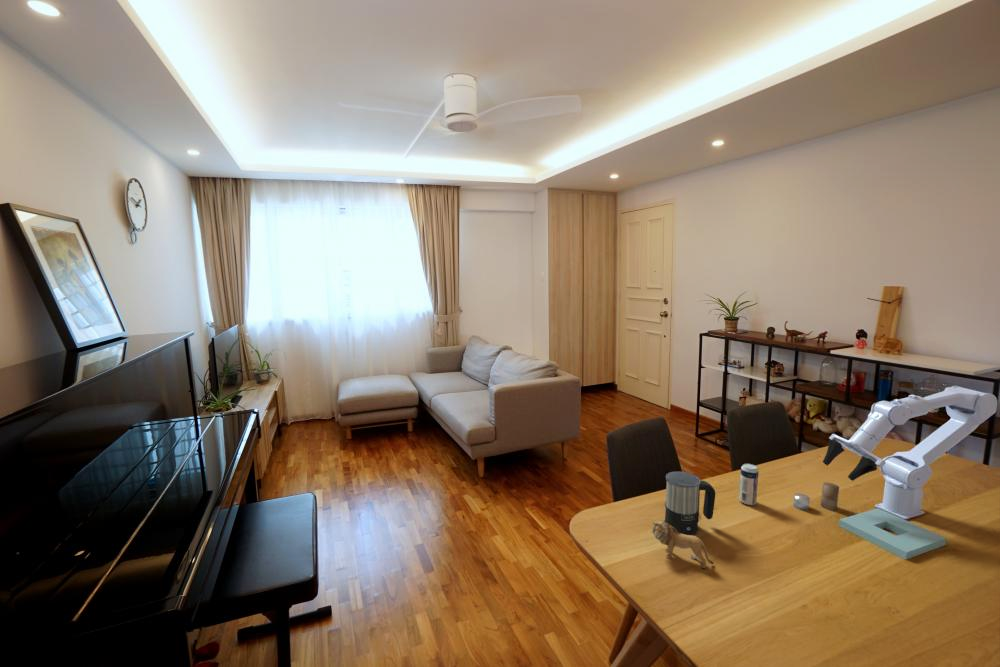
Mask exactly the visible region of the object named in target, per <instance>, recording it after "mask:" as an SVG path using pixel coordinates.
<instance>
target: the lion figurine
mask: <svg viewBox="0 0 1000 667" xmlns="http://www.w3.org/2000/svg"><path fill="white" fill-rule="evenodd" d="M651 533H652V534H653V536H654V538H655V540H658V541H659V542H660V544H662V545H665V546H667V548H666V549H665V550H664V551H665V552H666V551H667V552H666V553H668V554H666V556H665V557H666V558H667V559H668V558H670V559H672V557H673V554H674V553H673V552H674V549H675V547H676V548H679V549H682V550H685V549H691V551H692V552H693V554H691V555H690V558H691V559H693V560H695V559H697V558H698V559H699V561H701V564H700V565H699V566H700V568H701V567H702V568H701V569H703V568H705V569H706V568H707V562H708V563H709V564H710V565H714V561H712V560H710V558H709V556H708V551H707V548H706V546H705V544H704V542H703V541H702V539H700V538H699V537H698V536H696V535H685V534H681V533H679V532H678V531H677V530H676V529H675V528H674V527H672V526H671V525H669V524H668V523H666V522H664V521H663V520H656V521H655V522H653V524H652V532H651ZM702 549H703V553H704V555H703V553H702ZM704 556H705V557H704Z"/></svg>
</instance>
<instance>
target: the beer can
mask: <svg viewBox="0 0 1000 667" xmlns="http://www.w3.org/2000/svg"><path fill="white" fill-rule="evenodd" d="M759 472H760V471H759V469H758V467H757V466H756V465H755V464H753V463H752V464H751V463H744V464H742V466H741V467H740V475H739V477H740V478H739V488H738V489H739V490H738V492H739V493H738V501H739V502H740V503H741V504H743V503H744V505H746V504H747V505H746V506H754V505H756V504H757V496H758V495H757V494H758V485H759V484H758V482H759Z"/></svg>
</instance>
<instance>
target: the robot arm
mask: <svg viewBox="0 0 1000 667" xmlns="http://www.w3.org/2000/svg"><path fill="white" fill-rule="evenodd" d="M944 407H945V411H946V413H947V415H948V416H949V417H950V419H949V420H948V421H947V422H945V423H944V424H942V425H941V426H939V427H938V428H937V429H936V430H935V431H933V432H932V433H931V434H929V435H928V436H927V437H925V439H923V440H922V441H920V442H919V443H918V444H916V445H915V446H913V448H911V449H910V450H907V451H896V452H895V453H893V454H891V455H888V456H885V457H883V458H881V457H879V456H877V455H875V454H873V453H872V451H874V449H875V448H877V446H878V445H879V443H881V441H882V440H883V439H884V438H886V436H887V435H888V434H889V432H890V431H891V430H892V429H893V428H894V427H895V426H903V425H904V424H906V423H907V421H908V420H910V419H912V418H916V417H920V416H925V415H927V414H928V413H929V412H930V410H934V409H938V408H944ZM997 408H998V399H997V397H996V396H995V394H993V393H989V392H983V391H978V390H975V389H970V388H966V387H962V386H959V385H952V386H948V387H945V388H944V390H943V391H940V392H937V393H933V394H929V395H926V396H924V397H922V396H919V395H915V394H909V395H908V397H904V398H899V399H898V398H895V399H893V400H891V401H888V400H881V401H877V402H874V403H873V404H872V405H871V408H870V412H869V413H868V415H867V419H866V420H865V422H863V423H862V425H861V426H859V427H858V429H857V430H856V431H855V432H854V433H853V434H852V436H851V437H850V438H849V439H846V438H844V437H841V436H839V435H837V434H835V433H832V434H831V435H830V436H829V437H828V439H829V440H828V446H827V451H826V453H825V456H824V458H823V460H822V463H823V464H824V465H826V466H827V467H828V466H829V465H830V464H831V463H832V462H833V461H834V460H835V458H836V457H838V456H839V455H840V454H842V453H843V452H845V449H847V450H848V451H850V452H852V453H854V454H855V455H858V456H860V457H861V458H860V460H859V462H858V464H856V466H855V467H854V469H853V470H852V471H851V472H850V473H849V475H848V476H847V478H848V479H849V480H851V482H854V481H855V480H857V479H858V478H859V477H861V476H864V475H866V474H868V473H871V472H874V471H877V470H878V468H877V467H879V471H880V472H881V474H883V477H882V478H883V479H884V480H885V481H884V482H885V483H884V488H883V489H884V490H883V495H882V496H883V497H882V502H880V503H877V504H875V505H874V506H875V508H879V509H881V510H883V511H886V512H888V513H890V514H892V515H895V516H897V517H899V518H902V519H904V520H908V519H911V518H914V517H918V516H921V515H924V514H925V511H923V510H922V504H923V495H924V491H923V488H922V487H923V486H925V484H927V481H928V480H929V479H930V478H931V477H932V476H933V470H932V468H931V467H930V465H931V464H933V463H934V462H935V461H936V460H937V459H939V458H940V457H942V456H943V455H944V454H946V453H947V452H948V451H949V450H951V449H952V448H953V447H954V446H956V445H957V444H959V443H960V442H961V441H962V440H963V439H965V438H966V437H967V436H969V435H971V433H973V432H974V431H975V430H976V429H977V428H978V427H979V426H980V425H981V424H982V423H984V422H985V421H986V420H988V419H989V418H990V417H992V416H993V415H994V414H996V413H997ZM844 448H845V449H844Z"/></svg>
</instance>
